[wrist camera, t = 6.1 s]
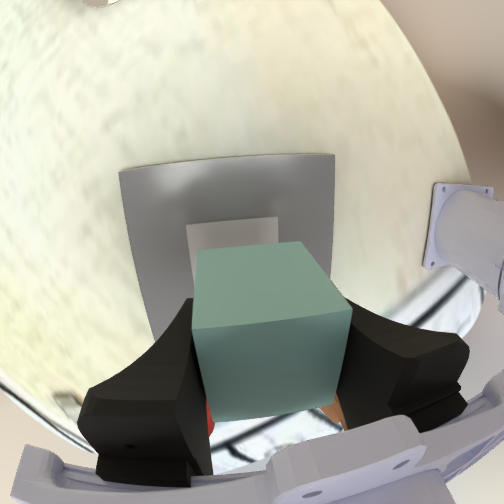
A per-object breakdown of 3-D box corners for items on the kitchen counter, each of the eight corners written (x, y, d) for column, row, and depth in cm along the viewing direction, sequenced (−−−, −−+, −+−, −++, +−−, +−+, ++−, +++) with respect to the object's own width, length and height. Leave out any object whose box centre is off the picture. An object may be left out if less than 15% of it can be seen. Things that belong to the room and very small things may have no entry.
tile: (328, 153, 19) (335, 154, 18) (321, 322, 24) (325, 329, 23) (122, 169, 17) (117, 172, 16) (158, 340, 23) (157, 348, 22)
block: (300, 240, 13) (352, 308, 8) (297, 322, 15) (332, 404, 10) (197, 250, 12) (191, 329, 7) (209, 333, 14) (213, 422, 9)
